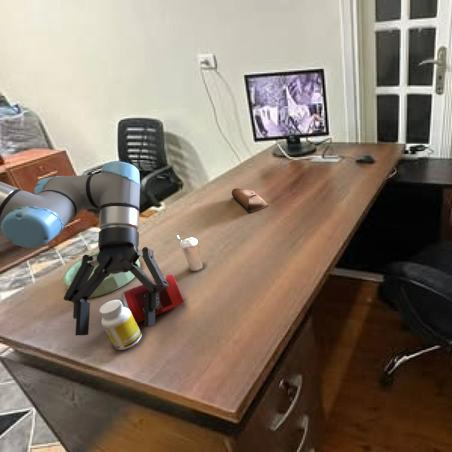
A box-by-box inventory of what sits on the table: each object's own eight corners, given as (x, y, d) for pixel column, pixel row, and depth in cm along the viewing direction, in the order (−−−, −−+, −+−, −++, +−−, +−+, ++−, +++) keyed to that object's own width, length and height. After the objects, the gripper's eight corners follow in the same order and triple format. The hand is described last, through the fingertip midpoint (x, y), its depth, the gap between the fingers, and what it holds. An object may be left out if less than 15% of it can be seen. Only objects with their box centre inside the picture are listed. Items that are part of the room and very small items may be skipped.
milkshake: (193, 261, 100) (182, 231, 95) (208, 264, 98) (198, 233, 93) (182, 271, 96) (171, 240, 91) (198, 273, 94) (187, 242, 90)
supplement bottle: (146, 329, 77) (129, 295, 73) (136, 349, 73) (117, 314, 68) (121, 332, 77) (103, 298, 73) (109, 352, 73) (89, 317, 68)
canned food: (176, 282, 88) (128, 301, 83) (170, 267, 82) (118, 286, 77) (186, 308, 85) (137, 329, 80) (181, 294, 78) (127, 316, 74)
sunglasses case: (270, 204, 127) (258, 193, 123) (256, 218, 126) (244, 207, 122) (251, 190, 141) (240, 179, 137) (239, 203, 140) (228, 192, 136)
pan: (54, 302, 89) (47, 290, 87) (90, 262, 104) (84, 251, 103) (124, 293, 90) (118, 281, 88) (149, 255, 105) (145, 244, 103)
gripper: (183, 227, 81) (185, 322, 75) (73, 241, 80) (67, 338, 74) (169, 218, 74) (169, 322, 68) (48, 233, 73) (38, 339, 67)
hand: (116, 330), depth 71 cm, fingers open, 13 cm apart
